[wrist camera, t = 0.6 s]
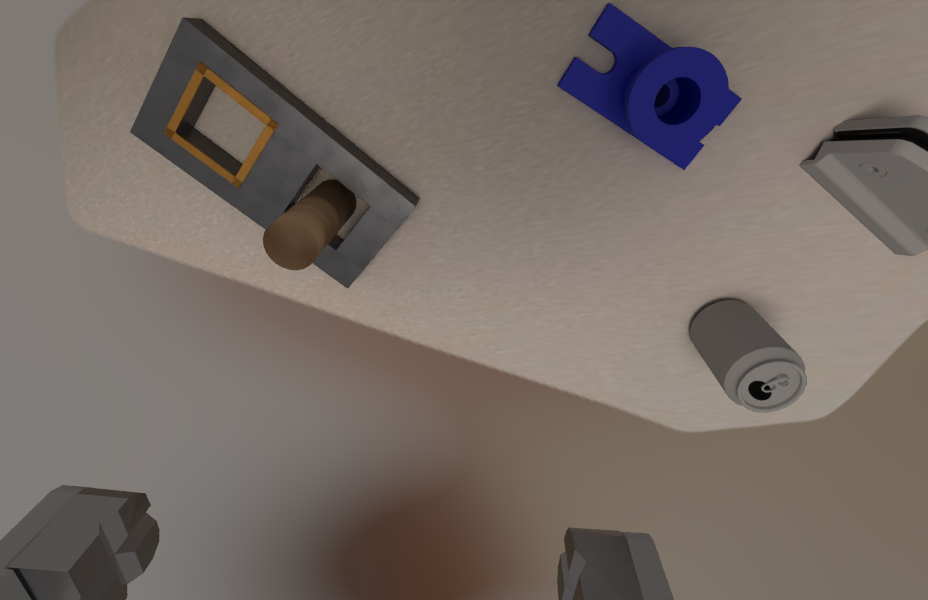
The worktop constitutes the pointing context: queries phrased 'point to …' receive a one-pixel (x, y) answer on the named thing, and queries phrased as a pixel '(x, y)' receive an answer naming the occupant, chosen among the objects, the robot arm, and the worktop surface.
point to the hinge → (880, 177)
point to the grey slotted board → (265, 146)
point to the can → (748, 356)
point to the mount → (653, 88)
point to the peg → (309, 225)
